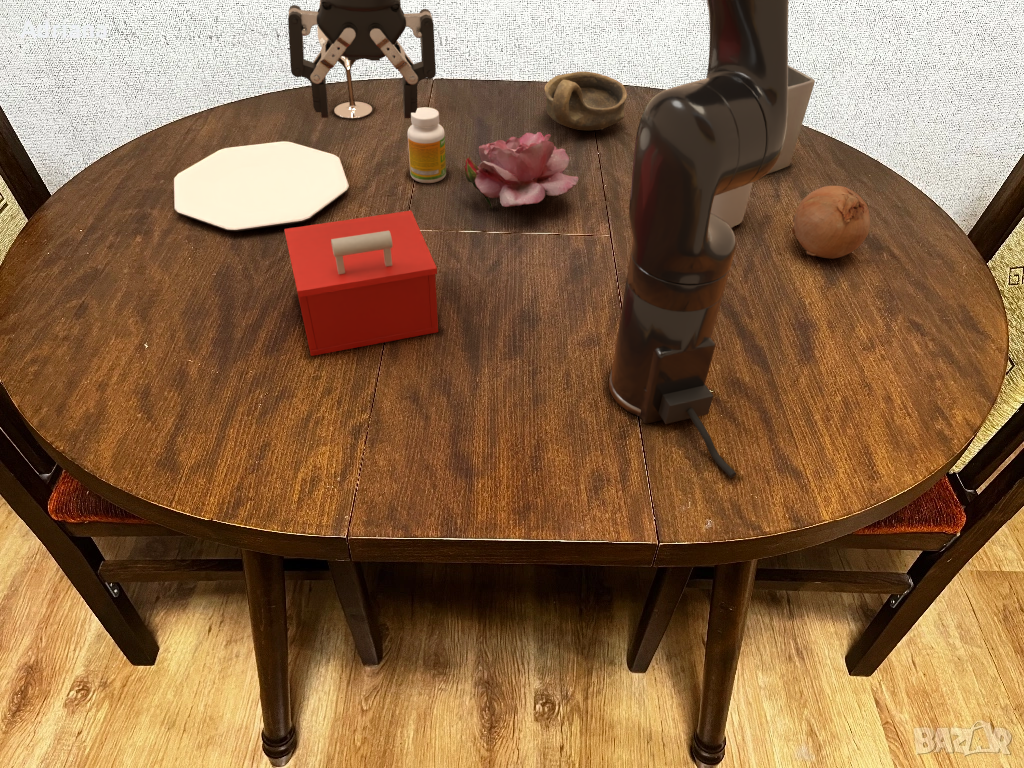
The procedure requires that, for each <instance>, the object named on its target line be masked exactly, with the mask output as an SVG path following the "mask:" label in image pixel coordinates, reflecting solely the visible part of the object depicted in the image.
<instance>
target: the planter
mask: <svg viewBox="0 0 1024 768" xmlns="http://www.w3.org/2000/svg"><path fill="white" fill-rule="evenodd" d="M815 83H816V79H814V78H812V77H810V76H809V75H807V74H805V73H804V72H801V70H799V69H796V68H794V67H792V66H791V65H788V114H787V127H786V135H785V140H784V145H783V148H782V151H781V154H780V156H779V158H778V160H777V162H776V163H775V165H774V166H773V168H772V169H771V170H770V171H769V172H768V173H767V174H766V175H769V174H772V173H774V172H778V171H781V170H783V169H785V168H788V167H789V166H790V165H791V163H792V158H793V156H794V152H795V148H796V146H797V142H798V139H799V136H800V132H801V129H802V126H803V123H804V120H805V115H806V113H807V109H808V106H809V102H810V99H811V97H812V93H813V89H814V87H815Z"/></svg>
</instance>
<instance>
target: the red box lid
mask: <svg viewBox="0 0 1024 768" xmlns="http://www.w3.org/2000/svg"><path fill="white" fill-rule="evenodd" d="M283 229H284V231H283V232H284V234H285V241H286V244H287V249H288V254H290V255H289V259H290V264H291V269H292V268H293V269H292V274H293V273H294V274H293V278H295V279H294V283H295V282H296V283H295V288H296V287H297V288H296V293H297V292H298V293H297V297H298V296H299V297H303V296H309V295H315V294H321V293H327V292H333V291H339V290H345V289H351V288H357V287H362V286H368V285H374V284H380V283H386V282H392V281H398V280H404V279H410V278H416V277H422V276H428V275H433V274H435V275H438V267H437V265H436V263H435V261H434V258H433V256H432V253H431V251H430V249H429V247H428V245H427V242H426V240H425V237H424V236H423V233H422V232H421V228H420V227H419V225H418V222H417V220H416V217H415V216H414V213H413V211H412V210H405V211H404V210H403V211H398V212H392V213H385V214H377V215H372V216H365V217H357V218H351V219H344V220H338V221H329V222H324V223H317V224H311V225H304V226H296V227H289V228H283Z"/></svg>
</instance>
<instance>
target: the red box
mask: <svg viewBox="0 0 1024 768" xmlns="http://www.w3.org/2000/svg"><path fill="white" fill-rule="evenodd" d="M288 254H289V253H288ZM289 256H290V254H289ZM291 269H292V270H293V268H292V267H291ZM292 275H294V273H293V272H292ZM293 278H294V277H293ZM294 280H295V278H294ZM436 280H437V279H436V274H433V275H428V276H422V277H416V278H410V279H404V280H398V281H392V282H386V283H380V284H374V285H368V286H362V287H357V288H351V289H345V290H339V291H333V292H327V293H321V294H315V295H309V296H303V297H299V296H298V295H297V297H298V302H299V306H300V312H301V317H302V322H303V325H304V330H305V335H306V340H307V345H308V348H309V353H310V357H312V356H313V357H314V356H320V355H324V354H329V353H335V352H340V351H345V350H350V349H356V348H361V347H366V346H372V345H377V344H383V343H388V342H393V341H399V340H405V339H409V338H414V337H420V336H425V335H430V334H437V333H439V319H438V316H439V315H438V301H437V299H438V298H437V297H438V296H437V281H436ZM294 284H296V282H295V281H294ZM295 288H296V289H297V287H296V286H295ZM296 293H297V294H298V292H297V291H296Z"/></svg>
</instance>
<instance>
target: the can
mask: <svg viewBox="0 0 1024 768" xmlns="http://www.w3.org/2000/svg"><path fill="white" fill-rule="evenodd" d="M753 184H754V182H752V183H749V184H747V185H744V186H742V187H739V188H736V189H733V190H731V191H728V192H725V193H722V194H719V195H717V196H714V200H713V203H712V208H711V213H713V214H715V215H716V216H718V217H720V218H721V219H723V220H724V221H725V222H726V223H727V224H728V225H729V226H730V227H731V228H732V229H733V228H735V226H737V225H740V224H742V222H743V221H744V217H745V214H746V210H747V206H748V202H749V199H750V195H751V193H752V192H751V191H752V188H753Z"/></svg>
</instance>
